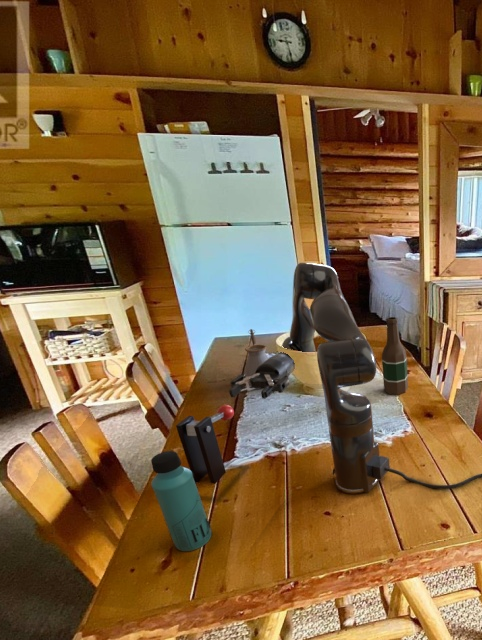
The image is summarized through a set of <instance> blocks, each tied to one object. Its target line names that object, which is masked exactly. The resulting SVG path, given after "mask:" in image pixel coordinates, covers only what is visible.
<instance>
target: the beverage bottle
mask: <svg viewBox="0 0 482 640" xmlns="http://www.w3.org/2000/svg"><path fill="white" fill-rule="evenodd" d="M181 465H182V460H181V459H180V456H179V455H178V453H177V452H176V451H174V450H165V451H162V452H159V453H158V454H157V453H156V454H155V455H154V456H153V457H152V458H151V466H152V471H153V472H154V473H156V475H155V476H154V477H153V478H152V480H151V483H150V484H151V485H150V486H151V488H152V489H153V492H154V495H155V497H156V500H157V502H158V505H159V508H160V510H161V513H162V516H163V520H164V522H165V525H166V528H167V530H168V533H169V536H170V539H171V540H172V543H173V545H174V547H175V548H176V549H177V550H179V551H181V552H192V551H195V550H197V549H200V548H201V547H203V546H205V545H206V544H208V542H209V541H210V540H211V538H212V533H213V532H212V526H211V525H210V524H211V523H210V520H209V519H210V518H209V516H208V514H207V512H206V509H205V506H204V504H203V502H202V497H201V494H200V490H199V487H198V485H197V483H196V482H195V481H194V478H193V474H192V471H191V470H190V468H189V467H185V466H181Z"/></svg>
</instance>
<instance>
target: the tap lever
mask: <svg viewBox="0 0 482 640" xmlns="http://www.w3.org/2000/svg"><path fill="white" fill-rule="evenodd" d="M234 415H235V410H234V408H233V407H232V406H231V405H229V404H223V405H220V406H219V407H218V408H217V411H216V413H215V414H214V415H211V416H210V417H211V421H212V424H213V423H215V422H218V421H219V420H223V421H229V420H231V419H232V418H233V417H234ZM200 421H201V420H195V421H193V422H191V423H189V424H187V425H186V430H187V436H197V435H196V432H195V429H194V426H195V425H196V424H198V423H199V422H200Z"/></svg>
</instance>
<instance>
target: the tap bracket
mask: <svg viewBox="0 0 482 640" xmlns="http://www.w3.org/2000/svg"><path fill="white" fill-rule="evenodd" d="M211 417H212V416H205V417H204V418H203V419H201V420H199V421H200V422H199V423H198V424H196V425H195V426H194V429H195V432H196V435H197V436H187V430H186V425H187V424H189V423H191V422H193V421H196V420H195V417H194V415H188V416H186V417H185V418H184V419H182V420H181V421H180V422H179V423H177V424H176V425H175V427H176V431H177V434H178V437H179V440H180V443H181V447H182V449H183V452H184V456H185V458H186V462H187V465H188V469H190V470H191V471H192V474H193V478H194V481H195V483H196V484H198V483H200V482H201V481H202V480H203V478H205V477H206V476H207V475H208V478H209V481H210V484H213V485H216V484H217V482H218V481H219V480H220V479H221V478H222V477H224V475H225V474H226V473H227V471H226V466H225V464H224V460H223V456H222V453H221V450H220V445H219V443H218V439H217V435H216V431H215V428H214V424H213V423H212V421H211Z"/></svg>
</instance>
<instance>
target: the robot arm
mask: <svg viewBox="0 0 482 640" xmlns="http://www.w3.org/2000/svg"><path fill="white" fill-rule="evenodd" d="M305 299H307V300H312V302H311V304H310V307H309V306H308V304H307V302H306V300H305ZM315 334H317V335H318V336H320V338H322V339H323V340H325V342H321V343H320V344H319V345H318V347H317V350H316V344H315V339H314V338H315ZM282 346H283V347H284V348H287V349H291V350H292V349H293V350H298V351H302V352H313V351H315V352H316V360H317V366H318V371H319V375H320V381H321V385H322V390H323V398H324V403H325V411H326V413H325V414H326V419H327V427H328V433H329V441H330V447H331V448H330V449H331V455H332V461H333V468H332V475H333V476H335V485H336V487H337V489H338V490H339V491H341V492H342V493H346V494H353V495H354V494H355V495H356V494H361V493H365V494H369V493H370V492H371V491H372V490H373V488H374V487H376V485H377V484H378V483H379V481H381V480H382V479H383V478H384V477H385V476H386V474H387V473H388V472H389V473H392V474H395V475H398V476H400V477H402V479H404V480H405V481H408V482H410V483H414V484H417V485H420V486H424V487H427V488H430V489H435V490H436V489H437V490H450V489H456V488H460V487H462V486H465V485H467V484H469V483H471V482H472V481H474V480H477V479H480V478H482V473H479V474H475V475H473V476H471V477H469V478H466V479H465V480H463V481H461V482H460V481H459V482H458V483H453V484H444V485H443V484H442V485H441V484H440V485H439V484H430V483H426V482H422V481H420V480H417V479H414V478H412V477H409V476H407V475H406V474H405V472H402V471H401V470H400V471H399V470H397V469H394V468H391V467H390V458H389V457H387V456H383V455H380V446H379V443H378V442H375V433H374V422H373V411H372V404H371V401H370V399H369V398H368V397H367V396H365V395H363V394H361V393H360V394H359V393H355V392H350V391H346V390H344V389H342V388H348V387H355V386H360V385H365V384H369V383H371V382H372V381H373V380H374V379H375V377H376V374H377V361H376V357H375V354H374V350H373V349H372V346H371V345H370V343H369V341H368V340H367V338H366V337H365V335H364V333H363V332H362V331H361V329H360V328H359V326H358V325H357V322H356V320H355V318H354V315H353V312H352V311H351V308H350V306H349V304H348V302H347V300H346V298H345V297H344V294H343V292H342V289H341V284H340V282H339V278H338V274H337V272H336V270H335V269H334V268H333V267H331V266H329V265H325V264H324V265H323V264H317V263H310V262H299V263H297V264H296V266H295V268H294V271H293V280H292V319H291V325H290V329H289V336H287V337H286V338H284V340H283V342H282V344H281V347H282ZM294 369H295V363H294V360H293V359H292V358H291V357H290V356H289V355H288V354H286V353H284V352H283V353H282V352H280V353H279V351H277V352H276V353H275V354H274V355H272V356H270V357H269V359H267V360H266V361H265V362H264V363H262V364H261V365H260V366H259V367H258V368H257V369H256V372H255V374H253V375H251V376H249V377H246V376H245V374H244V373H240V374H239V375H237V376H235V378H233V379H232V380H231V381H229V382H230V386H231V388H229V389H228V391H229V396H230V397H231V398H235V397H237V396H238V395H239V394H241V392H244V391H248V392H249V391H252V390H256V389H261V391H260V395H261V400H266V399H267V398H269V397H271V395H272V394H276V393H277V392H278V394H280V393H284V392H285V391H286V389H287V388H288V387H289V385H290V378H289V377H290V375H291V374H292V373H293V372H294V371H295V370H296V369H295V370H294ZM248 381H250V383H251V385H252V386H250V385H249V383H248Z"/></svg>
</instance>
